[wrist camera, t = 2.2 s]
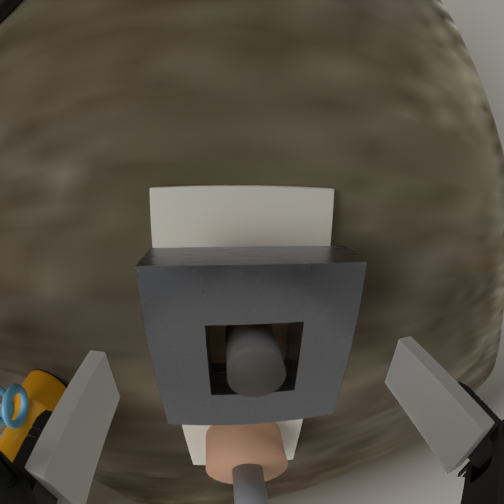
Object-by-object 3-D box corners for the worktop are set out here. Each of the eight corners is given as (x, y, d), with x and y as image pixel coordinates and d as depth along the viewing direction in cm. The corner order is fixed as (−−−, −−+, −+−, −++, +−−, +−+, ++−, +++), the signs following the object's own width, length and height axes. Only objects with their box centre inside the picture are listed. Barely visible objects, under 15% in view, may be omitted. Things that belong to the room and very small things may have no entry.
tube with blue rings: (1, 369, 19) (-56, 452, 5) (22, 325, 18) (-66, 430, 3) (79, 436, 22) (48, 531, 8) (118, 410, 21) (84, 540, 7)
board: (154, 187, 16) (149, 188, 15) (327, 187, 17) (334, 189, 16) (193, 456, 24) (193, 464, 23) (290, 451, 25) (292, 459, 24)
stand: (189, 250, 16) (167, 310, 9) (295, 249, 17) (344, 304, 10) (196, 340, 18) (187, 424, 11) (288, 337, 19) (319, 415, 12)
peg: (202, 416, 20) (201, 505, 12) (283, 412, 21) (306, 497, 13) (209, 454, 22) (211, 527, 14) (277, 451, 23) (292, 521, 15)
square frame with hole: (151, 248, 12) (135, 265, 10) (343, 245, 13) (367, 261, 11) (173, 393, 15) (168, 423, 12) (320, 386, 15) (332, 413, 13)
